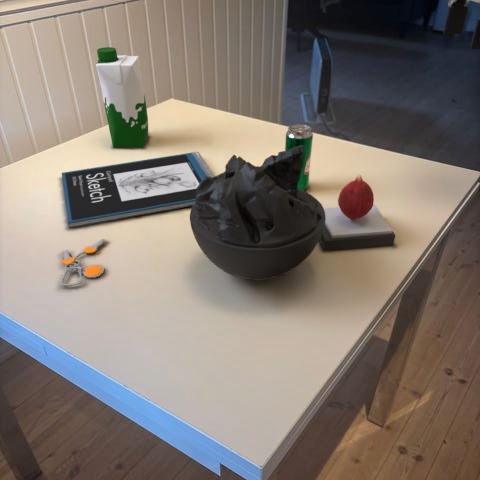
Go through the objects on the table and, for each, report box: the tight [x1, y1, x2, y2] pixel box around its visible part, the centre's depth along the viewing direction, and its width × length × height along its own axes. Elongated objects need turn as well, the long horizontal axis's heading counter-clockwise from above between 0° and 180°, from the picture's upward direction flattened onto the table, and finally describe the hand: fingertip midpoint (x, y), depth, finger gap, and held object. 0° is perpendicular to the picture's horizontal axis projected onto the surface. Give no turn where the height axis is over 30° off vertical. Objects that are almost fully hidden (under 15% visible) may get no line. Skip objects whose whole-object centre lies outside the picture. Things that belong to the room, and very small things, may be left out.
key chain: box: [59, 238, 106, 287], centre depth 79 cm, size 13×7×1 cm, turn 7°
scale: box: [318, 204, 397, 252], centre depth 85 cm, size 12×10×3 cm
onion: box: [337, 174, 375, 220], centre depth 82 cm, size 6×6×8 cm
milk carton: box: [95, 46, 149, 149], centre depth 110 cm, size 9×9×20 cm
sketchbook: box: [61, 151, 216, 229], centre depth 98 cm, size 22×30×2 cm
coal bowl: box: [189, 145, 326, 281], centre depth 72 cm, size 20×20×19 cm
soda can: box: [284, 123, 314, 191], centre depth 95 cm, size 5×5×12 cm
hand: (465, 41), depth 80 cm, fingers open, 9 cm apart
